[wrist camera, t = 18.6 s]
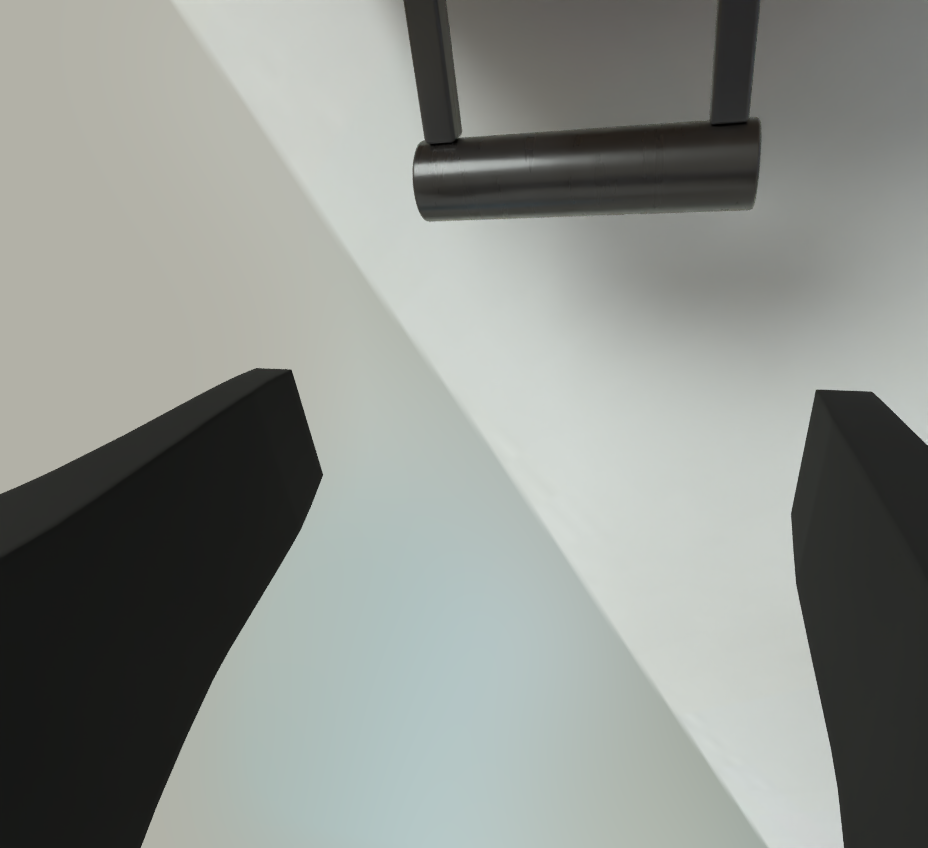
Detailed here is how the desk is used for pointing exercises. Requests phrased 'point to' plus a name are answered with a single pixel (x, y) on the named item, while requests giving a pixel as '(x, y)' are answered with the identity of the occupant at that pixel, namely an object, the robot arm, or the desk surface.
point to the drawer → (586, 143)
